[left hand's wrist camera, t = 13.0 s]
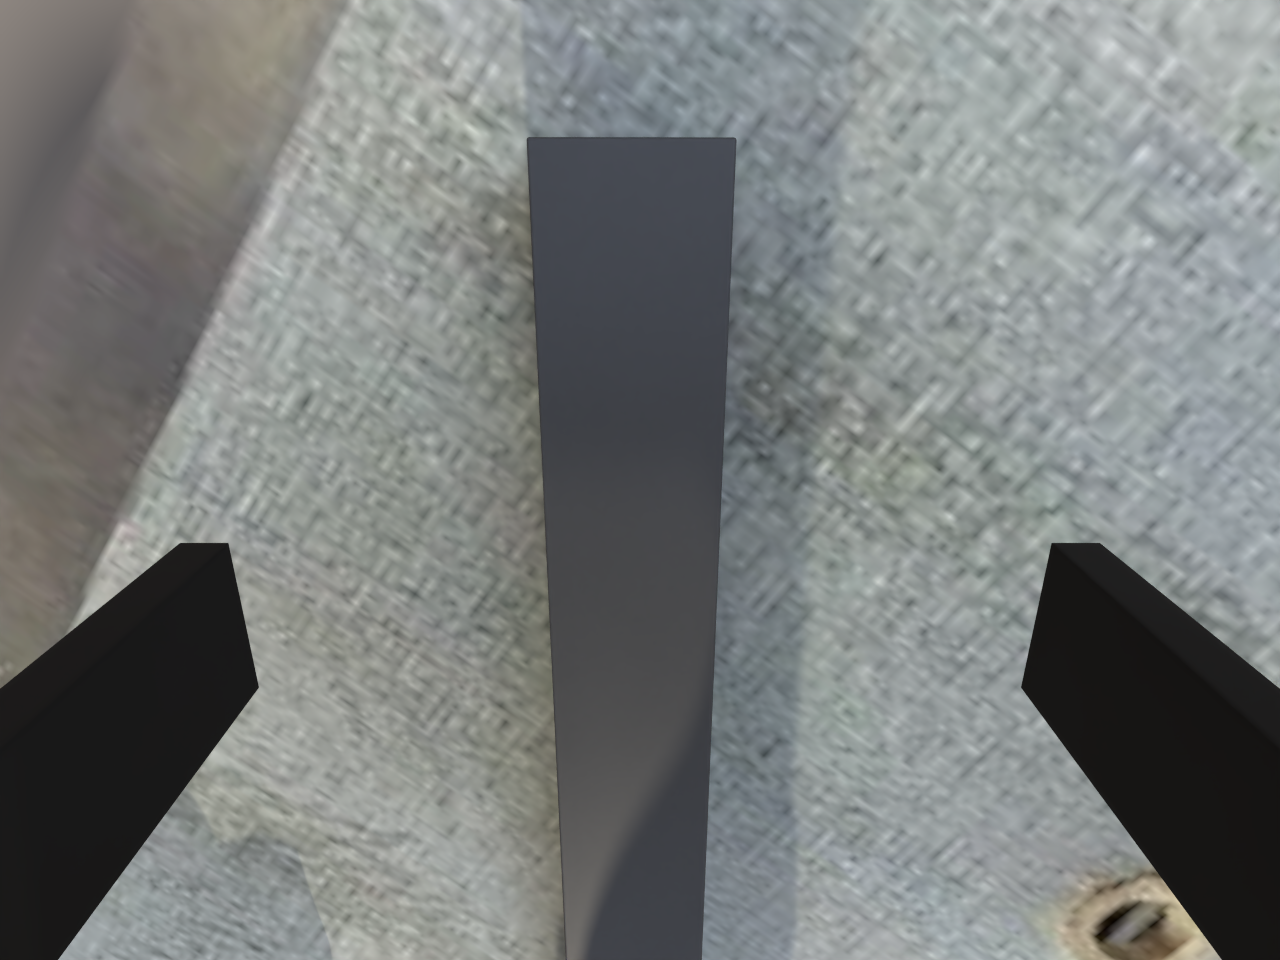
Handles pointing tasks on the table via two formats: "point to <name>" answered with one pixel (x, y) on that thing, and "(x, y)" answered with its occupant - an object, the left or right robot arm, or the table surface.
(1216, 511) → the table surface
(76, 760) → the left robot arm
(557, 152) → the beam
